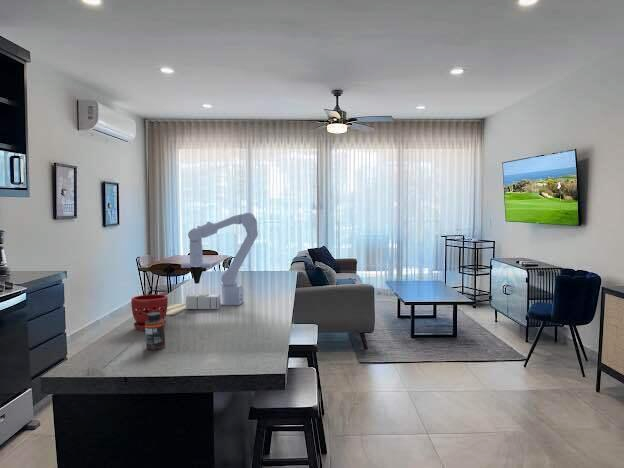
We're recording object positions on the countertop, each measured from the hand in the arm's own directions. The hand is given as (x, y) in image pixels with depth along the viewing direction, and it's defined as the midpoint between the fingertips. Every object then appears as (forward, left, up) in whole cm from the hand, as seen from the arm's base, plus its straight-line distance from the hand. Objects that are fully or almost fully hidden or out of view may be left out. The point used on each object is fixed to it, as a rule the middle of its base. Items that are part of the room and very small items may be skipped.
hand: (197, 283), depth 212 cm
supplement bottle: (-14, +62, -11) cm, 64 cm away
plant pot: (+2, +38, -11) cm, 39 cm away
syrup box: (+2, +8, -7) cm, 11 cm away
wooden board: (+8, +10, -10) cm, 16 cm away
